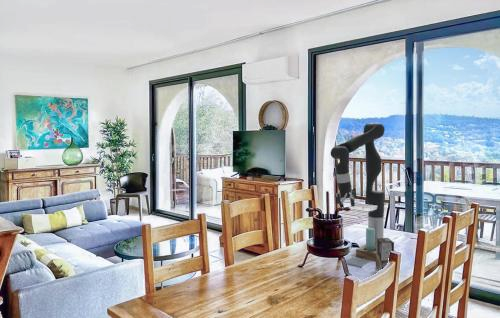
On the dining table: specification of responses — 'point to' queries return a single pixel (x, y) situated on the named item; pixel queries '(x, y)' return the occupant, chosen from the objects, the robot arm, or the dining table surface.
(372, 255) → the walnut holder
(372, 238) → the teal peg
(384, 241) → the coffee box
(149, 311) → the dining table surface
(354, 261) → the slate mat
